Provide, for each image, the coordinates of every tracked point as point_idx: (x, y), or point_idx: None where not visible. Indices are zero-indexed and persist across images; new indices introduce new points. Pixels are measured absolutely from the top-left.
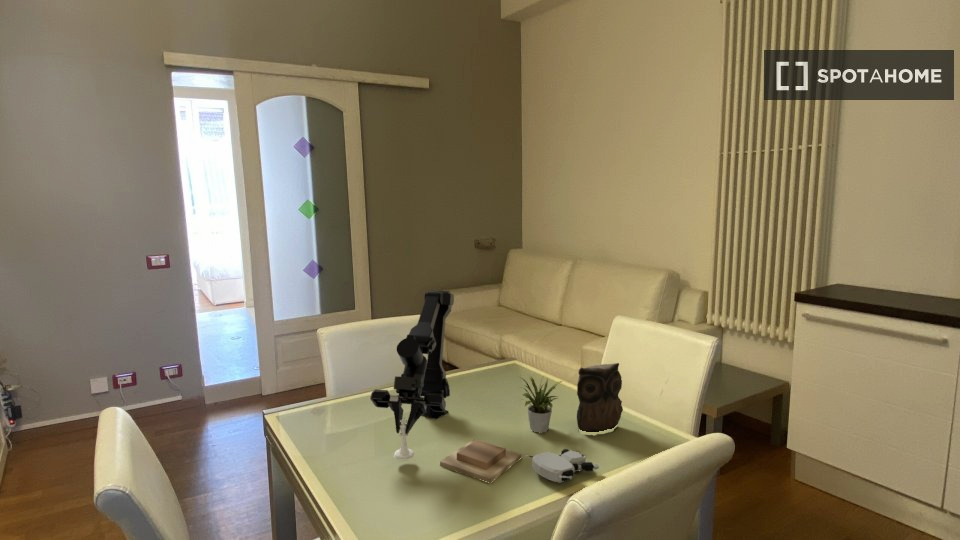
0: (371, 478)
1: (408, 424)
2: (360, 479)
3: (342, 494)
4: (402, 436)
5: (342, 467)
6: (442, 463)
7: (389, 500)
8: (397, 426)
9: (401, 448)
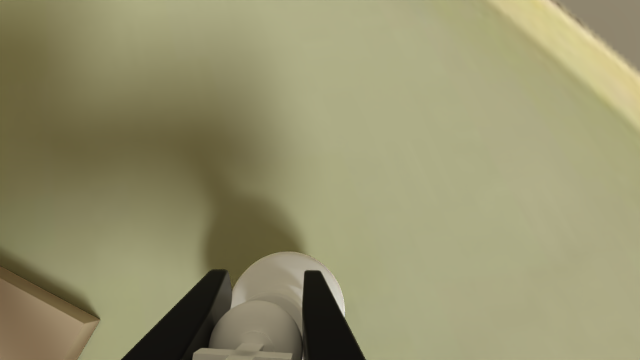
0: (398, 150)
1: (174, 324)
2: (442, 135)
3: (460, 27)
4: (271, 294)
5: (574, 221)
6: (75, 315)
7: (270, 17)
8: (316, 305)
9: (294, 298)
